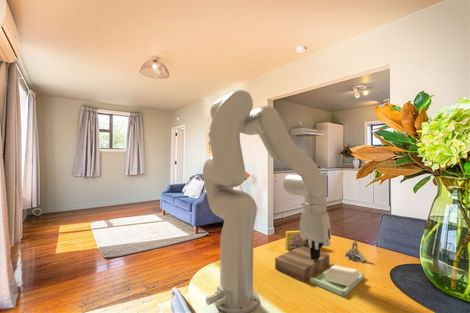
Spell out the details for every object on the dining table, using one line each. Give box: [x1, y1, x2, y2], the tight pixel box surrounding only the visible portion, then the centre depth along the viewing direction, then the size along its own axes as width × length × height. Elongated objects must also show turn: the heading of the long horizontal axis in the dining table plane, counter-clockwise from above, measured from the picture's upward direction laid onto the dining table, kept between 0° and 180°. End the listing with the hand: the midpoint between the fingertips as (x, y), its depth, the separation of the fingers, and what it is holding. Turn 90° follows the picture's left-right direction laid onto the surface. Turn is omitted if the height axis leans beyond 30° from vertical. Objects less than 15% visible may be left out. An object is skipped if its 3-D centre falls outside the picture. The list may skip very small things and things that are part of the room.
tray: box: [309, 263, 365, 298], centre depth 76 cm, size 16×11×2 cm
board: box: [274, 246, 331, 283], centre depth 86 cm, size 18×12×4 cm, turn 132°
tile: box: [322, 264, 359, 286], centre depth 75 cm, size 8×8×2 cm
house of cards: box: [344, 241, 367, 263], centre depth 92 cm, size 9×9×8 cm
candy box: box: [284, 229, 316, 251], centre depth 104 cm, size 16×2×8 cm, turn 104°
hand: (315, 258), depth 82 cm, fingers closed
